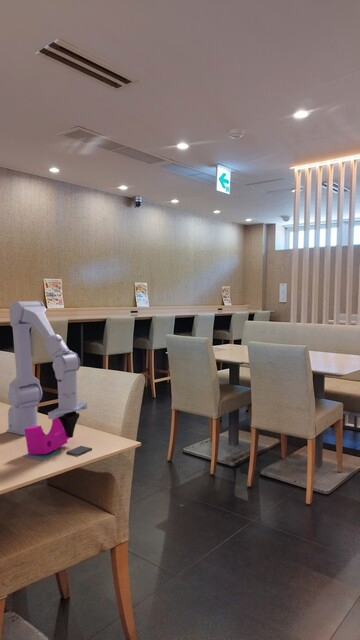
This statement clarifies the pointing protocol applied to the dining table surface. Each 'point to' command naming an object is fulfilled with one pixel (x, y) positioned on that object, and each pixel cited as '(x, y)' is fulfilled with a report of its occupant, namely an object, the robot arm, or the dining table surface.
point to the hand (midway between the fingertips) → (69, 437)
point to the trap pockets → (79, 450)
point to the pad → (43, 455)
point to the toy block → (45, 438)
